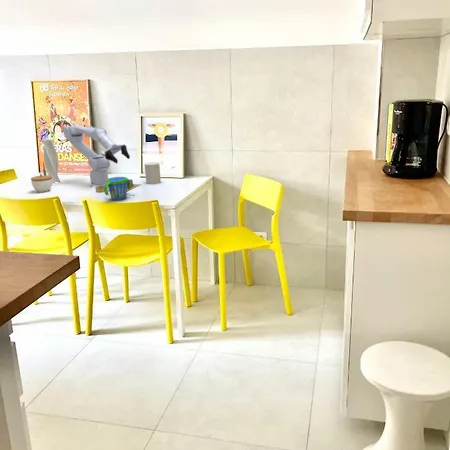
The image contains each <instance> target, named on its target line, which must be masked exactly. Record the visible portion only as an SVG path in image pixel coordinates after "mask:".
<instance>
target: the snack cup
mask: <svg viewBox="0 0 450 450" xmlns="http://www.w3.org/2000/svg"><path fill="white" fill-rule="evenodd" d="M104 186H105V189H104V192H103V193H104V195H105V196H109V195H110V198H111V200H113V201H121V200H125V199H127V194H128V193H127V189H130V188H131V185H130V181H129V178H128V177H126V176H114V177H113V176H112V177H108V179H107V180H106V184H105V185H104ZM108 190H109V191H108Z"/></svg>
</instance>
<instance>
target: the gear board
mask: <svg viewBox="0 0 450 450" xmlns="http://www.w3.org/2000/svg"><path fill="white" fill-rule="evenodd" d="M142 185H143V184H141V183H139V184H135V183H133V186H132V187H131V188H130V189H127V192H130V191H132V190H134V189H135V188H138V187H140V186H142ZM107 190H108V192H109V189H107Z"/></svg>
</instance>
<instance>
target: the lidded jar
mask: <svg viewBox="0 0 450 450" xmlns="http://www.w3.org/2000/svg"><path fill="white" fill-rule="evenodd" d="M30 180H31V184H32V188H33V189H34V190H35V191H36V192H37V193H45V192H44V191H47V192H49V191H50V189H52V186H53V184H52V176H49V175H48V174H46V175H44V174H43V175H42V173H40V174H39V175H35V176H32V177H31V178H30ZM48 190H49V191H48Z"/></svg>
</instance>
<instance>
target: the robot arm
mask: <svg viewBox="0 0 450 450" xmlns="http://www.w3.org/2000/svg"><path fill="white" fill-rule="evenodd" d="M84 135H85V136H86V137H87V138H91V139H93V141H96V142H98V143H99V144H100V145H101V146H102V147H103V148H104V149H105V150H103V151H101V154H97V152H95V151H94V150H93V149H92V148H91V147H89V146H88V145H87V144H86V143H85V142H83V141H84V140H85V139H84ZM63 136H64V138H65V139H66V140H68V141H69V142H70V144H71V145H72V146H73V148H75V149H76V150H77V151H78V152H79V153H80V154H81V155H82V156H83V157H85V158H86V159H87V160H88V162H87V163H88V165H89V167H90V169H91V171H90V172H89V179H90V187H94V186H95V185H96V186H105V184H106V180H107V179H108V178H109V174H108V170H109V168H110V165H111V162H113V163H114V164H118V159H117V157H115V154H117V153H118V152H121V155H123V156H124V157H125V158H126V159H128V160H130V154H129V152H128V148H127V147H128V146H127V145H126V143H123V144H117V143H115V142H114V140H112V139H111V138H110V137H109V135H108V133H107V131H106V129H105V128H102V127H101V128H98V127H94V126H92V125H89V126H87V127H86V126H83V125H81V124H77V125H70V126H67V125H66V126H64V127H63ZM110 161H111V162H110Z"/></svg>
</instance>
